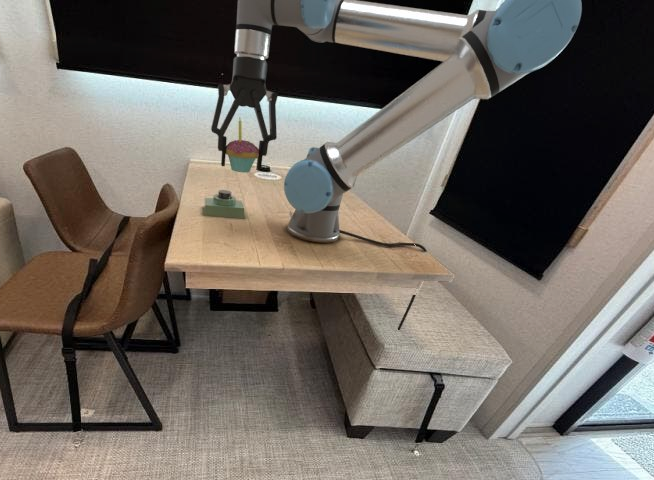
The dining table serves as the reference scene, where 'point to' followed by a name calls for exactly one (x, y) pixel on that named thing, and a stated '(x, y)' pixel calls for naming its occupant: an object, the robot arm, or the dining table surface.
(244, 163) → the cupcake
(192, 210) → the dining table surface
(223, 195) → the pump
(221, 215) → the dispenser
